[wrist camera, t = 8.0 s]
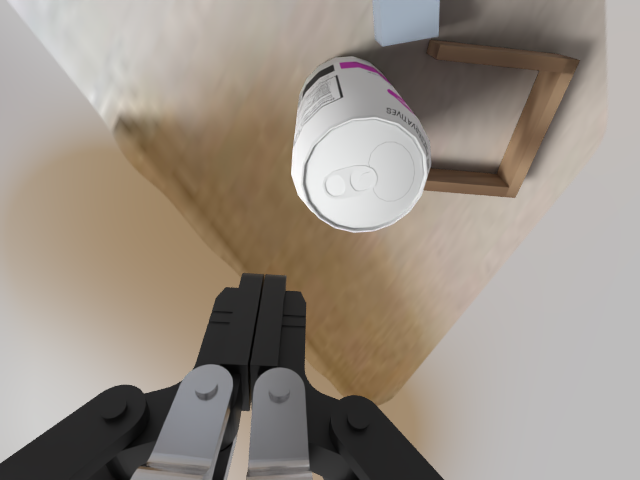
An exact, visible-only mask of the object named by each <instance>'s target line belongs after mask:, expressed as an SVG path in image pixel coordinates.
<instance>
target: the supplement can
mask: <svg viewBox="0 0 640 480" xmlns="http://www.w3.org/2000/svg"><path fill="white" fill-rule="evenodd" d="M430 167H431V152H430V141H429V139H428V137H427V135H426V133H425V131H424V129H423V127H422V125H421V123H420V121H419V119H418V118H417V117H416V115H415V114H414V113H413V112H412V110H411V109H410V108H409V106H408V105H407V104H406V103H405V101H404V100H403V99H402V98H401V96H400V95H399V94H398V92H397V91H396V90H395V89H394V87H393V86H392V85H391V83H390V82H389V81H388V80H387V78H386V77H385V76H384V75H383V73H382V72H381V71H379V70H378V69H377V68H376V67H375V66H374V65H372V64H371V63H370V62H369V61H366V60H363V59H359V58H356V57H353V56H349V57H337V58H333V59H331V60H329V61H327V62H325V63H323V64H321V65H319V66H318V67H317V68H316V69H315V70H314V71H313V72H312V73H311V74H310V75H309V76H308V77H307V79H306V81H305V83H304V85H303V88H302V90H301V92H300V95H299V103H298V111H297V120H296V128H295V136H294V145H293V155H292V171H291V175H292V178H293V181H294V184H295V187H296V190H297V193H298V196H299V197H300V198H301V199H302V200H303V202H304V203H305V204H306V205H307V207H308V208H309V209H310V210H311V211H312V212H313V213H315V214H316V216H317V217H318V218H319V219H321V220H322V221H324V222H326V223H327V224H329V225H331V226H332V227H334V228H337V229H341V230H345V231H349V232H369V231H376V230H378V229H381V228H384V227H387V226H389V225H392V224H394V223H395V222H397V221H398V220H399V219H401V218H402V217H403V216H405V215H406V214H408V213H409V212H410V211H411V209H412V208H413V207H414V205H415V204H416V202H417V201H418V200H419V198H420V197H421V196H422V192H423V189H424V186H425V183H426V180H427V177H428V174H429V170H430Z"/></svg>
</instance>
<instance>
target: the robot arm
mask: <svg viewBox="0 0 640 480" xmlns="http://www.w3.org/2000/svg"><path fill="white" fill-rule="evenodd" d="M305 327H306V302H305V300H304V298H303V296H302V294H301V292H298V291H286V276H284V275H268V274H266V275H265V280H264V274H251V273H243V274H242V277H241V281H240V285H239V288H229V287H226V288H225V289H224V290H223V291H222V292H221V293H220V294H219V295H218V296H217V298H216V300H215V303H214V307H213V310H212V313H211V316H210V319H209V324H208V326H207V329H206V332H205V335H204V339H203V342H202V345H201V348H200V352H199V355H198V358H197V362H196V364H195V367H194V368H193V370H192V371H191V372H189V373H188V374H187V375H186V376H185V378H184V379H183V380H182V381H181V382H179V383H177V384H176V385H173V386H171V387H168V388H165V389H161V390H157V391H153V392H149V393H145V394H144V393H143V392H142V391H141V390H140V389H139V388H137V387H135V386H132V385H119V386H115V387H112V388H109V389H108V390H105V391H104V392H102V393H100V394H99V395H98V396H96V397H95V398H93V399H92V400H90V401H89V402H87V403H86V404H85V405H83V406H82V407H80V408H79V409H78V410H76V411H75V412H73V413H72V414H70V415H69V416H67V417H66V418H65V419H63V420H62V421H60V422H59V423H57V424H56V425H55V426H53V427H52V428H50V429H49V430H47V431H46V432H45V433H43V434H42V435H40V436H39V437H37V438H36V439H35V440H33V441H32V442H31V443H29V444H27V445H26V446H25V447H23V448H22V449H20V450H19V451H17V452H16V453H15V454H13V455H12V456H10V457H9V458H7V459H6V460H5V461H3V462H2V463H0V480H227V477H228V472H229V468H230V464H231V460H232V456H233V452H234V448H235V444H236V439H237V432H238V428H239V422H240V416H241V411H249V410H250V405H251V402H252V419H251V433H250V448H249V463H248V472H247V477H246V480H313V479H312V472H314V473H316V474H318V475H320V476H323V479H324V480H444V479H443V478H442V477H441V476H440V475H439V474H438V473H437V472H436V470H435V469H434V468H433V467H432V466H431V465H430V464H429V463H428V462H427V461H426V459H425V458H424V457H423V456H422V455H421V454H420V453H419V452H418V451H417V450H416V448H415V447H414V446H413V445H412V444H411V443H410V442H409V441H408V440H407V439H406V438H405V436H404V435H403V434H402V433H401V432H400V431H399V430H398V429H397V428H396V427H395V426H394V425H393V423H392V422H391V421H390V420H389V419H388V418H387V417H386V416H385V415H384V414H383V413H382V411H381V410H380V409H379V408H378V407H377V406H376V405H375V404H374V403H373V402H372V401H370V400H369V399H367V398H365V397H362V396H357V395H351V396H347V397H344V398H342V399H340V400H338V399H335V398H332V397H330V396H327V395H325V394H322V393H320V392H319V391H317V390H316V389H315V388H313V387H312V386H311V384H310V383H309V381H308V380H307V377H306V375H305V368H304V365H305V364H304V363H305Z"/></svg>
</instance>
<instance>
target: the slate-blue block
mask: <svg viewBox="0 0 640 480" xmlns="http://www.w3.org/2000/svg"><path fill="white" fill-rule="evenodd" d="M439 4H440V0H373V15H374V31H375V40H376V41H377V42H378V43H379V44H380V45H381V46H382V47H383V46H389V45H394V44H400V43H405V42H411V41H416V40H422V39H427V38H433V37H438V36H439Z"/></svg>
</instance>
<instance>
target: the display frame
mask: <svg viewBox="0 0 640 480" xmlns="http://www.w3.org/2000/svg"><path fill="white" fill-rule="evenodd" d="M427 54H428V55H430V56H432V57H433V58H435V59H436V60H446V61H455V62H464V63H473V64H483V65H492V66H501V67H510V68H520V69H529V70H538V71H539V73H538V75H537V78H536V80H535V83H534V85H533V87H532V90H531V92H530V94H529V97H528V99H527V102H526V104H525V106H524V109H523V111H522V114H521V116H520V118H519V121H518V123H517V126H516V128H515V130H514V133H513V135H512V138H511V140H510V142H509V145H508V147H507V150H506V152H505V154H504V157H503V159H502V162H501V164H500V166H499V169H498V171H497V174H492V173H481V172H469V171H458V170H446V169H435V168H430V170H429V174H428V177H427V180H426V183H425V186H424V189H423V190H427V191H439V192H451V193H463V194H475V195H488V196H500V197H512V198H515V197H516V195H517V193H518V191H519V189H520V187H521V185H522V183H523V180H524V178H525V176H526V174H527V172H528V170H529V168H530V166H531V163H532V161H533V159H534V157H535V155H536V153H537V151H538V149H539V146H540V144H541V142H542V140H543V138H544V136H545V134H546V132H547V129H548V127H549V125H550V123H551V121H552V119H553V117H554V115H555V112H556V110H557V108H558V106H559V104H560V102H561V100H562V98H563V95H564V93H565V91H566V89H567V87H568V85H569V83H570V81H571V78H572V76H573V74H574V72H575V70H576V68H577V66H578V64H579V61H580V60H578V59H574V58H571V57H567V56H564V55H560V54H555V53H546V52H537V51H528V50H519V49H510V48H501V47H492V46H483V45H474V44H465V43H456V42H447V41H438V40H430V41H429V45H428V49H427Z"/></svg>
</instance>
